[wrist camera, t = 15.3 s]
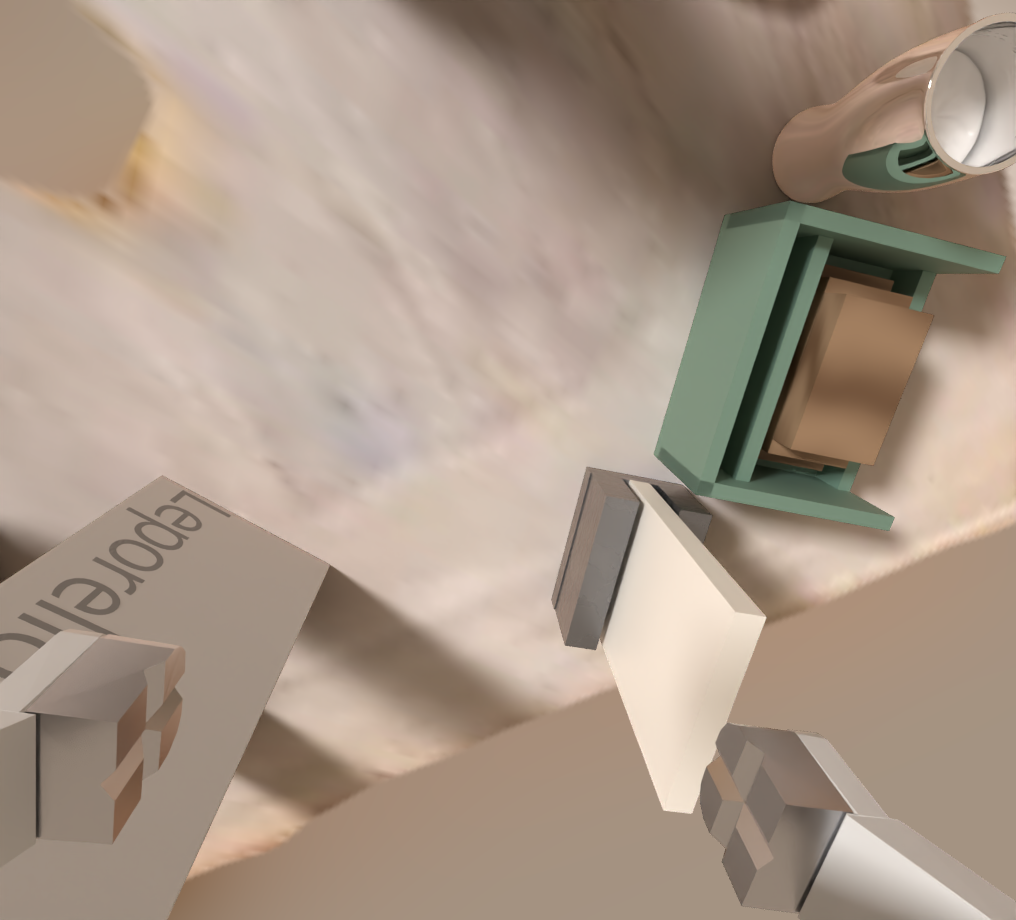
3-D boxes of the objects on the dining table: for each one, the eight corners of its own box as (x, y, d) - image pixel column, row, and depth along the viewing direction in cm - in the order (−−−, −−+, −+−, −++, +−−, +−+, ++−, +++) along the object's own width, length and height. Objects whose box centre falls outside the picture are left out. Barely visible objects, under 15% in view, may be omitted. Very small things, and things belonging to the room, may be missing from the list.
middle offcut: (809, 276, 41) (830, 276, 39) (888, 295, 42) (913, 297, 39) (752, 443, 44) (768, 453, 42) (826, 458, 45) (845, 468, 43)
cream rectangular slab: (629, 479, 46) (735, 611, 28) (649, 483, 47) (766, 616, 29) (590, 614, 50) (663, 810, 32) (609, 617, 50) (691, 813, 32)
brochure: (330, 565, 48) (138, 985, 20) (297, 616, 50) (71, 1083, 21) (162, 475, 45) (-355, 820, 17) (131, 532, 46) (-402, 946, 18)
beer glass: (748, 191, 42) (894, 150, 28) (790, 84, 40) (969, -20, 26) (835, 223, 43) (1018, 199, 29) (880, 120, 41) (1098, 40, 27)
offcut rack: (724, 215, 43) (790, 200, 34) (901, 259, 44) (1006, 256, 36) (653, 454, 48) (695, 494, 39) (815, 486, 49) (889, 530, 41)
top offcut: (824, 292, 39) (847, 293, 37) (907, 312, 40) (934, 315, 37) (772, 439, 42) (790, 449, 39) (851, 455, 42) (873, 465, 40)
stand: (586, 466, 47) (605, 495, 41) (682, 484, 48) (713, 515, 42) (551, 599, 51) (563, 645, 45) (641, 614, 52) (665, 660, 46)
